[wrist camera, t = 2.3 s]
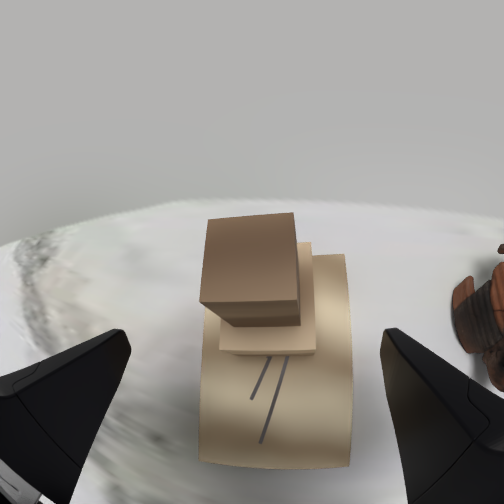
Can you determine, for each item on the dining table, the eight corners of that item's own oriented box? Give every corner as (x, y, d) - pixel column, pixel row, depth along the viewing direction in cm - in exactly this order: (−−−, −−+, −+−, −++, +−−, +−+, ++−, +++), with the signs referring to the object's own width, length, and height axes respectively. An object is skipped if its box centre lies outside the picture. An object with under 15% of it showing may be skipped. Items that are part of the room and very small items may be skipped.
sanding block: (313, 355, 16) (320, 334, 9) (237, 355, 17) (177, 334, 9) (310, 268, 19) (309, 186, 11) (240, 272, 20) (195, 197, 12)
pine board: (346, 460, 14) (349, 466, 13) (205, 455, 16) (198, 461, 14) (342, 262, 20) (344, 253, 19) (215, 268, 22) (209, 261, 21)
